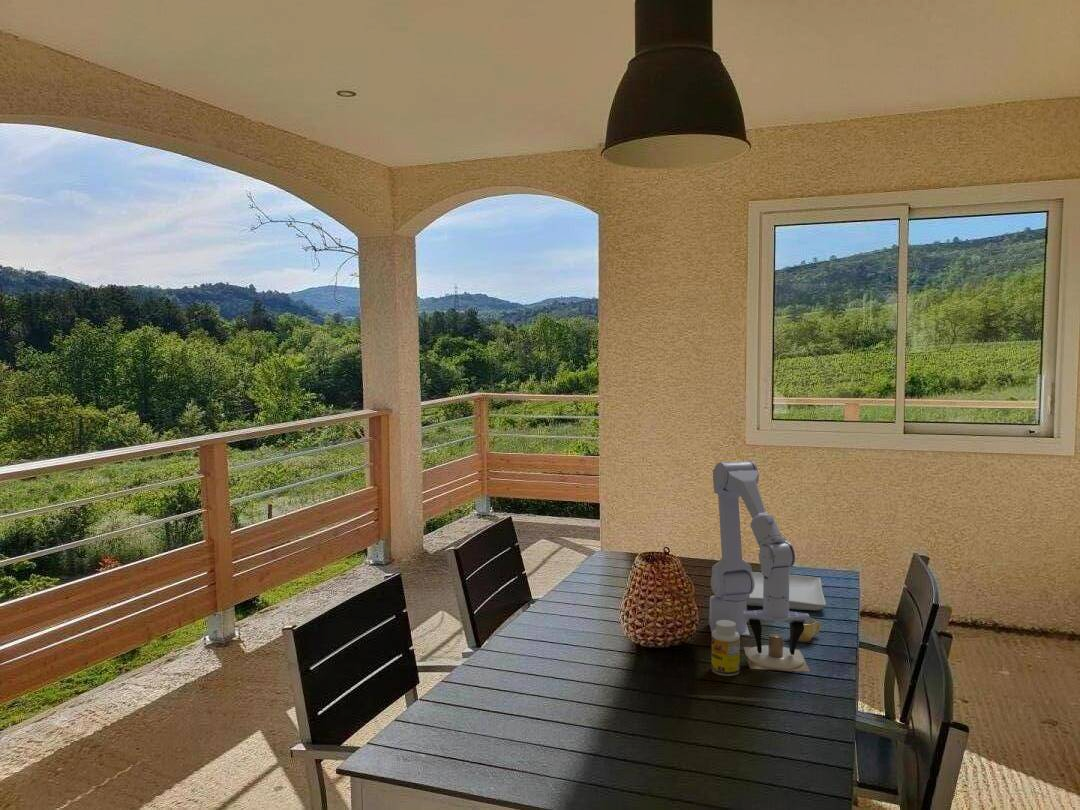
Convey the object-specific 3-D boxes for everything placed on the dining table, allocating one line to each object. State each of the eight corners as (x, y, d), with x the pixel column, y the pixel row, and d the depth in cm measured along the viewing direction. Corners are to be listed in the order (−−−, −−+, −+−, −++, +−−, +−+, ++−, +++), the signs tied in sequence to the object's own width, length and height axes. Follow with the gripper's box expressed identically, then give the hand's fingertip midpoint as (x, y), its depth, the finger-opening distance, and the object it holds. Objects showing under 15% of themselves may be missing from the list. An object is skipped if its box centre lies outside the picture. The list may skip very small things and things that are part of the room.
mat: (749, 671, 172) (749, 668, 172) (743, 649, 185) (743, 646, 185) (810, 674, 170) (810, 671, 170) (799, 652, 183) (799, 649, 183)
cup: (795, 653, 183) (796, 630, 183) (767, 635, 195) (768, 614, 194) (838, 647, 186) (839, 625, 186) (808, 630, 198) (809, 610, 198)
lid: (750, 668, 172) (751, 645, 172) (744, 647, 185) (744, 625, 184) (808, 671, 170) (809, 647, 170) (798, 650, 183) (798, 628, 183)
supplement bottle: (706, 668, 174) (706, 619, 173) (730, 665, 175) (730, 617, 175) (720, 679, 168) (720, 629, 167) (745, 676, 170) (745, 626, 169)
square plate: (724, 608, 217) (724, 594, 217) (729, 581, 243) (729, 569, 243) (826, 616, 209) (826, 602, 209) (820, 588, 235) (820, 575, 235)
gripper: (745, 598, 174) (745, 657, 175) (812, 601, 172) (811, 660, 172) (742, 589, 181) (741, 645, 182) (806, 591, 179) (805, 648, 179)
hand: (775, 652), depth 178 cm, fingers open, 7 cm apart
